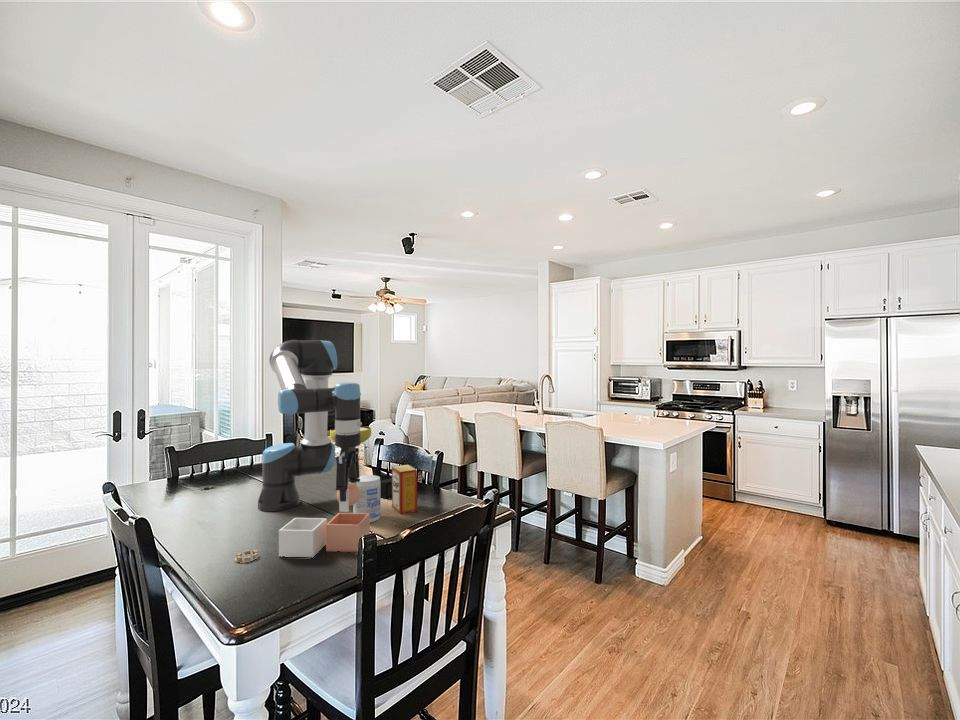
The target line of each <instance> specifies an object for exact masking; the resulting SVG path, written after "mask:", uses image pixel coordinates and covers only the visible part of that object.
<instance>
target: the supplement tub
mask: <svg viewBox="0 0 960 720" xmlns="http://www.w3.org/2000/svg"><path fill="white" fill-rule="evenodd" d="M359 476H360V477H359V478H358V479H360V482H357V486H358V488H359V490H360V497H359V500H358V501H357V504H354V505H352V506H353V507H352V508H353V509H352V511H353V512H352V513H370V523H374V522H377V521H379V519H380V518H381V507H382V505H381V503H382V501H381V499H382V498H381V483H380V481H381V477H380V476H379V475H376V474H375V475H374V474H364V475H359Z"/></svg>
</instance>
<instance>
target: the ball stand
mask: <svg viewBox="0 0 960 720" xmlns="http://www.w3.org/2000/svg"><path fill="white" fill-rule="evenodd" d="M243 552H244V553H243ZM243 552H238V553H237V554H236V556H235V558H234V562H235V561H236V562H240V563H239V564H243V563H242V562H243V561H244V562H247V561H251V557H250V556H248V557H244V560H243V559H242V557H241V556H242V554H244V555H247V554H251V553H253V554H254V555H253V559H255V558H256V557H258V554H259V550H257V549H253V550H252V551H251V549H247V550H246V549H245V550H244V551H243ZM236 562H235V563H236Z"/></svg>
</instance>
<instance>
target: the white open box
mask: <svg viewBox="0 0 960 720" xmlns="http://www.w3.org/2000/svg"><path fill="white" fill-rule="evenodd" d="M327 523H328V518H327V517H326V518H323V517H321V518H320V517H293V519H292V520H290V521H289V522H288V523H286V524H285V525H284V526H283V527H281V528H280V529H278V557H279V556H281V557H282V556H285V557H312V558H313V557H314V556H315V555H316V554H317V553H318V554H319V553H320V552H321V551H322V550H323V549H324V548H323V547H324V546H325V545H326V524H327ZM325 547H326V546H325ZM322 548H323V549H322ZM321 549H322V550H321ZM320 550H321V551H320ZM319 551H320V552H319ZM318 554H317V555H318ZM317 555H316V556H317ZM316 556H315V557H316ZM315 557H314V558H315ZM314 558H313V559H314Z"/></svg>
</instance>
